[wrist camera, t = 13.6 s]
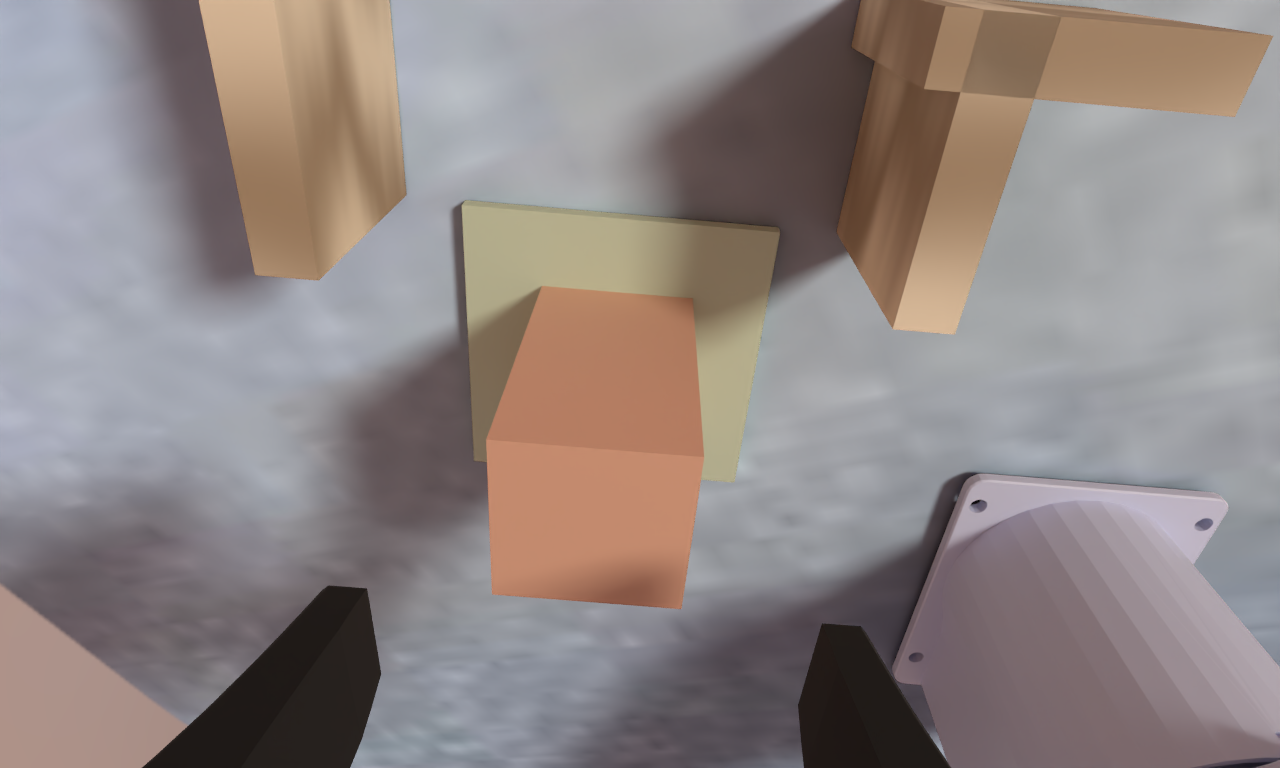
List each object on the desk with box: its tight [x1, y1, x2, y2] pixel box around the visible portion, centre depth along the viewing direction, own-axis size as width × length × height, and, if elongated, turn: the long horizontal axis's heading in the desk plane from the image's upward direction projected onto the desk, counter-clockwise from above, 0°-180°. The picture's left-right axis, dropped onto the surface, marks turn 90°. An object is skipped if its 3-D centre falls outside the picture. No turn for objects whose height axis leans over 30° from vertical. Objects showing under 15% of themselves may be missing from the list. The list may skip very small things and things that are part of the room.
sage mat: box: [462, 200, 780, 482], centre depth 21 cm, size 8×8×1 cm
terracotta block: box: [486, 286, 704, 609], centre depth 17 cm, size 4×4×7 cm
